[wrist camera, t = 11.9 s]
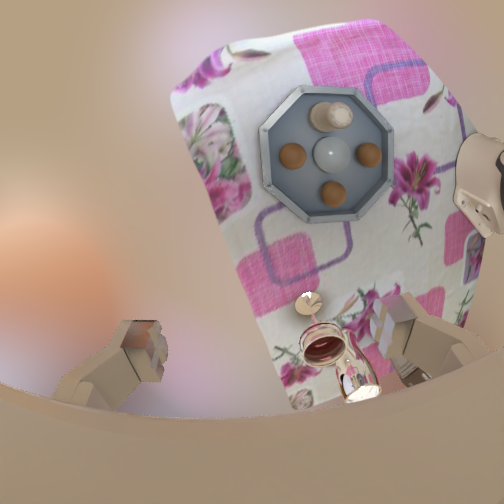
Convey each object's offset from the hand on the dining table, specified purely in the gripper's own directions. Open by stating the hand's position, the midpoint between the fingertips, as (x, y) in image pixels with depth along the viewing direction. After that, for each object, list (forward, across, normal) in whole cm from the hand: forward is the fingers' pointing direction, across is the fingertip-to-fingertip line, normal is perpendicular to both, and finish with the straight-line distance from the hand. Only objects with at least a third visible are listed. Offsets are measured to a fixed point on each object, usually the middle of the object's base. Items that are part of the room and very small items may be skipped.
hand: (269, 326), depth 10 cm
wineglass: (+31, -8, +23) cm, 40 cm away
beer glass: (+31, -16, +33) cm, 48 cm away
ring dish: (+31, -11, -3) cm, 33 cm away
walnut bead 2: (+30, -11, +3) cm, 32 cm away
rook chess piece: (+30, -11, -8) cm, 33 cm away
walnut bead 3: (+30, -17, -3) cm, 35 cm away
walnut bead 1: (+30, -6, -3) cm, 31 cm away
